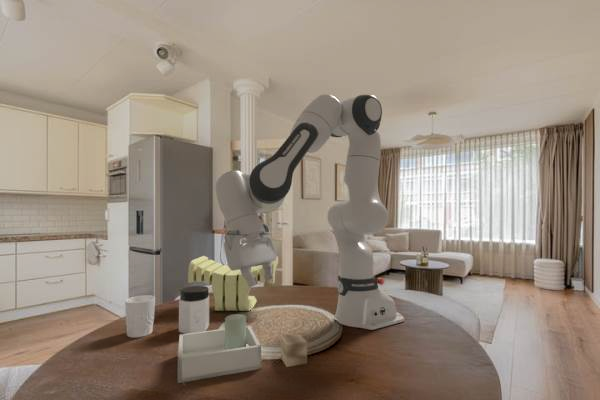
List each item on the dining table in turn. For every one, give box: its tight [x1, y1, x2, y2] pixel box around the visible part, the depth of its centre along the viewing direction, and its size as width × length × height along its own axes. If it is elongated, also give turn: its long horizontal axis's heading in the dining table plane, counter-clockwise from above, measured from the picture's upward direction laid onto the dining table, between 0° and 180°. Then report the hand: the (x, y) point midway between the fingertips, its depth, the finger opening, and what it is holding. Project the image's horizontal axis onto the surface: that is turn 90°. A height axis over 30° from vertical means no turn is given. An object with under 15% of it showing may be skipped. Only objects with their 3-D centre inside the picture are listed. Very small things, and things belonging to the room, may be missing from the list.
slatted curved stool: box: [187, 255, 279, 312], centre depth 117 cm, size 30×16×18 cm, turn 88°
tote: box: [177, 325, 262, 384], centre depth 74 cm, size 18×14×5 cm
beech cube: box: [280, 333, 308, 368], centre depth 75 cm, size 5×5×5 cm
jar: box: [178, 285, 210, 334], centre depth 95 cm, size 9×8×12 cm
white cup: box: [124, 294, 156, 339], centre depth 91 cm, size 8×8×10 cm
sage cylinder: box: [224, 313, 247, 350], centre depth 75 cm, size 5×5×9 cm
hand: (262, 283), depth 78 cm, fingers open, 8 cm apart
